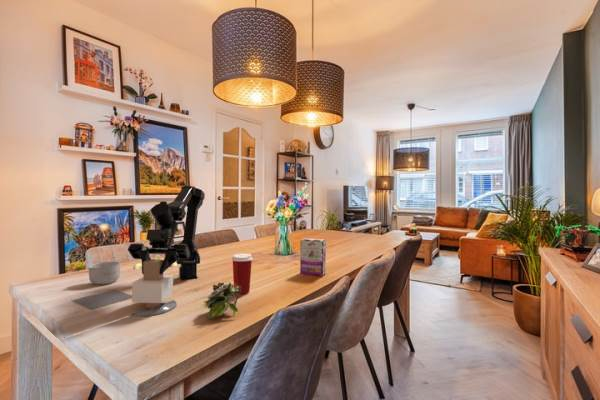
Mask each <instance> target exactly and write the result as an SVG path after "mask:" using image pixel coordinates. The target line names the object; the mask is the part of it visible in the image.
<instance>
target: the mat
mask: <svg viewBox="0 0 600 400" xmlns="http://www.w3.org/2000/svg"><path fill="white" fill-rule="evenodd" d="M130 299H131V300H132V294H129V293H127V292H123V291H120V290H118V289H112V290H111V289H110V290H107V291H104V292H100V293H95V294H91V295H88V296H84V297H79V298H75V299H71V302H72V303H75V304H77V305H79V306H82V307H83V308H85V309H88V310H90V311H93V310H96V309H101V308H105V307H107V306H110V305H115V304H117V303H121V302H124V301H127V300H130Z"/></svg>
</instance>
